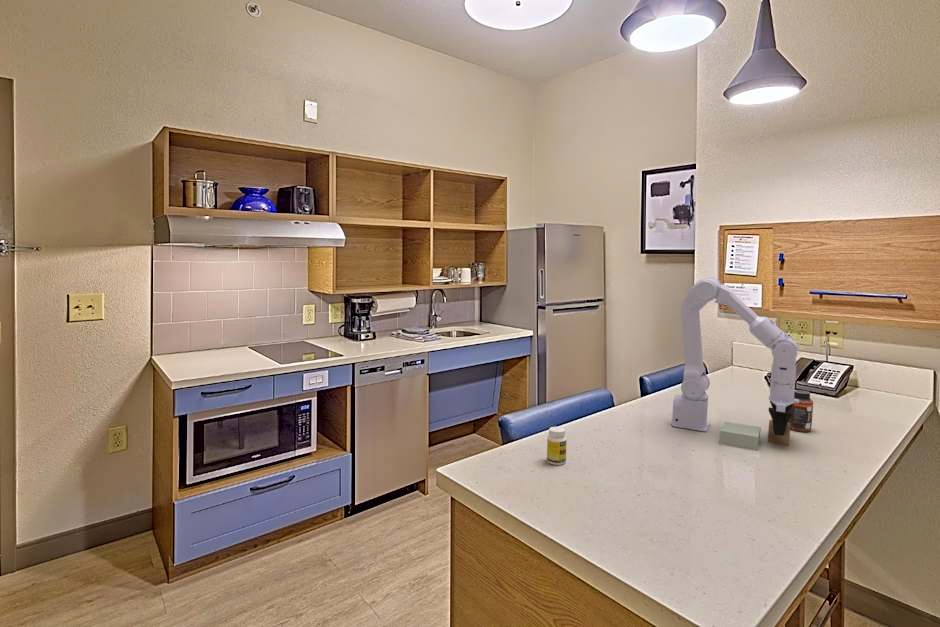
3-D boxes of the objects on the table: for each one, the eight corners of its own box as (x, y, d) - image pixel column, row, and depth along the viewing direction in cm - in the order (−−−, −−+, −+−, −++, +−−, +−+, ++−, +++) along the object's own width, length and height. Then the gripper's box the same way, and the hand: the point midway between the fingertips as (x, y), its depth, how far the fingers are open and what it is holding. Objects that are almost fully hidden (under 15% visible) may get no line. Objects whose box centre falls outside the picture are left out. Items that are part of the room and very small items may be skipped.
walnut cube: (767, 442, 145) (768, 424, 144) (768, 436, 149) (769, 419, 149) (788, 446, 142) (790, 428, 142) (788, 440, 147) (790, 422, 146)
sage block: (719, 444, 144) (720, 430, 143) (724, 434, 152) (724, 421, 151) (757, 451, 139) (758, 437, 139) (759, 440, 147) (760, 427, 146)
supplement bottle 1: (561, 467, 129) (562, 433, 128) (543, 462, 132) (544, 430, 131) (568, 460, 133) (569, 428, 132) (551, 456, 136) (552, 424, 135)
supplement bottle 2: (814, 433, 152) (818, 394, 150) (791, 431, 153) (794, 393, 151) (806, 426, 157) (809, 389, 156) (784, 425, 159) (786, 388, 157)
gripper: (800, 390, 135) (796, 441, 137) (799, 378, 148) (796, 425, 149) (768, 386, 139) (765, 436, 141) (770, 375, 151) (767, 421, 153)
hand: (779, 430), depth 145 cm, fingers open, 7 cm apart
